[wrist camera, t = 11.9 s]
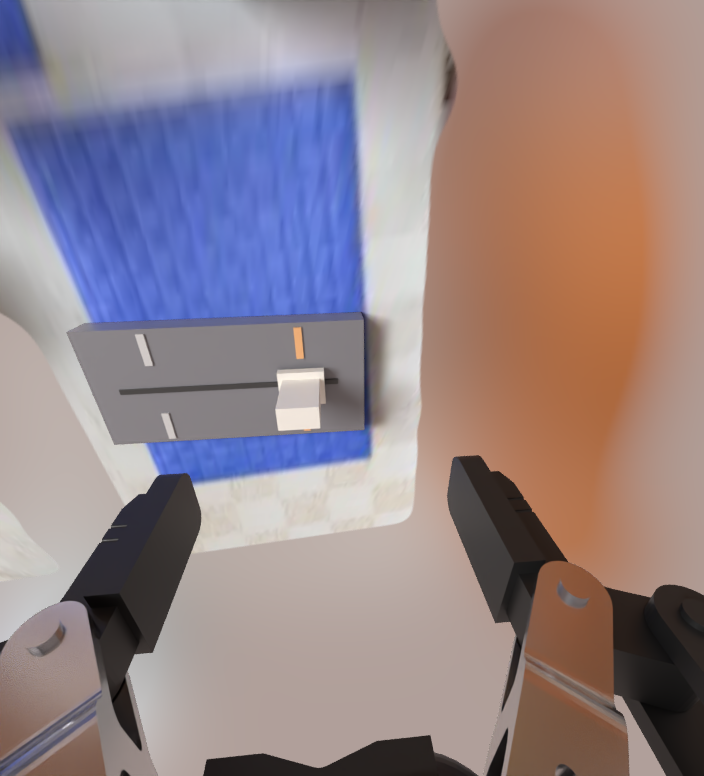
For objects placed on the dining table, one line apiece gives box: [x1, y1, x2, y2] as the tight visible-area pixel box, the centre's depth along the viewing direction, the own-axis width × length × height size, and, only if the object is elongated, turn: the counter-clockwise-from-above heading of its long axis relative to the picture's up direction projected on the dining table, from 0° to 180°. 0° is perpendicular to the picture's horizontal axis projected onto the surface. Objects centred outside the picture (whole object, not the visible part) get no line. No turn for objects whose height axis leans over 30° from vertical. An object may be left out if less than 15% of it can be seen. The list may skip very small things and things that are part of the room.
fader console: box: [66, 312, 364, 445], centre depth 40 cm, size 14×30×3 cm, turn 91°
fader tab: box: [275, 368, 326, 431], centre depth 35 cm, size 4×5×7 cm
